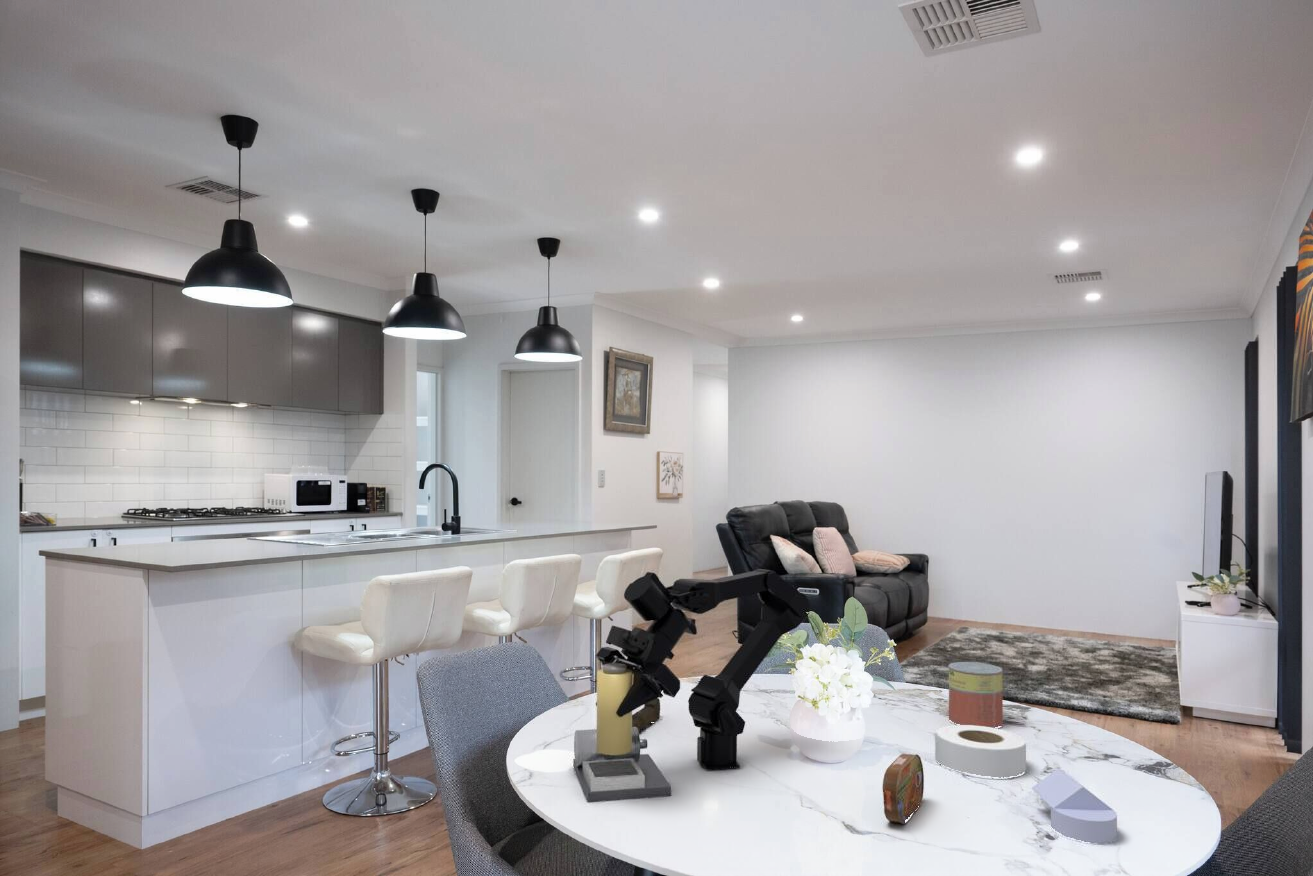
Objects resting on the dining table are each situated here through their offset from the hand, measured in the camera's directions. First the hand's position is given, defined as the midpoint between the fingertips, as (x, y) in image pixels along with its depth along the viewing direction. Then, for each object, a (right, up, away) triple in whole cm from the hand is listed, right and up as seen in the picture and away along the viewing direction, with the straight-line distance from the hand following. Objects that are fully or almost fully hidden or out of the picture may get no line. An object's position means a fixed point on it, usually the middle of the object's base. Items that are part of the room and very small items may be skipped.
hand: (607, 711), depth 144 cm
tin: (+48, -14, -8) cm, 50 cm away
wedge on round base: (+73, -14, -12) cm, 76 cm away
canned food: (+78, -17, +43) cm, 91 cm away
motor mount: (+2, -14, +5) cm, 14 cm away
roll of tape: (+69, -15, +16) cm, 72 cm away
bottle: (+1, -7, 0) cm, 7 cm away
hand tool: (+5, -16, +37) cm, 40 cm away
